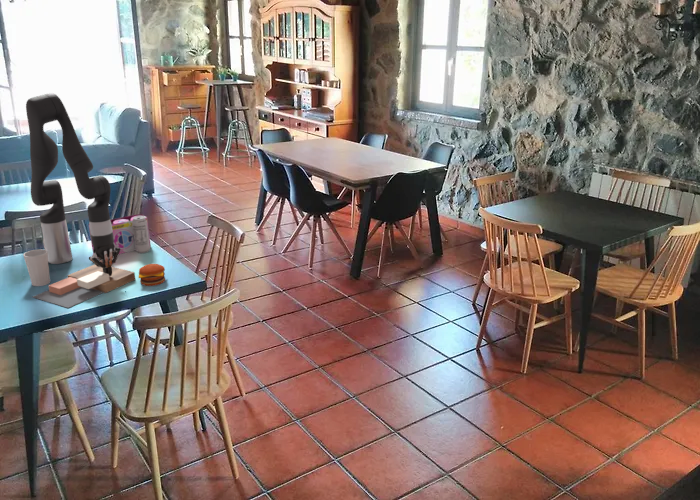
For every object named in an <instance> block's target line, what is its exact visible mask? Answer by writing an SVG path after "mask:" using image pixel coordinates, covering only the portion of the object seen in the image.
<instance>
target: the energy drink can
mask: <svg viewBox="0 0 700 500" xmlns="http://www.w3.org/2000/svg"><path fill="white" fill-rule="evenodd" d="M144 216H145V215H143V216H137V217H134V218H133V221H132V227H133V235H134V242H135V250H134V251H136V253H138V254H144V253H145V254H146V253H148V252H150V250H151V247H150V244H151V241H150V242H149V236H150V233H149V234H148V229H149V225H148V226H147V220H148V219H147V220H146V219H145V217H146V216H145V217H144Z"/></svg>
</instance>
